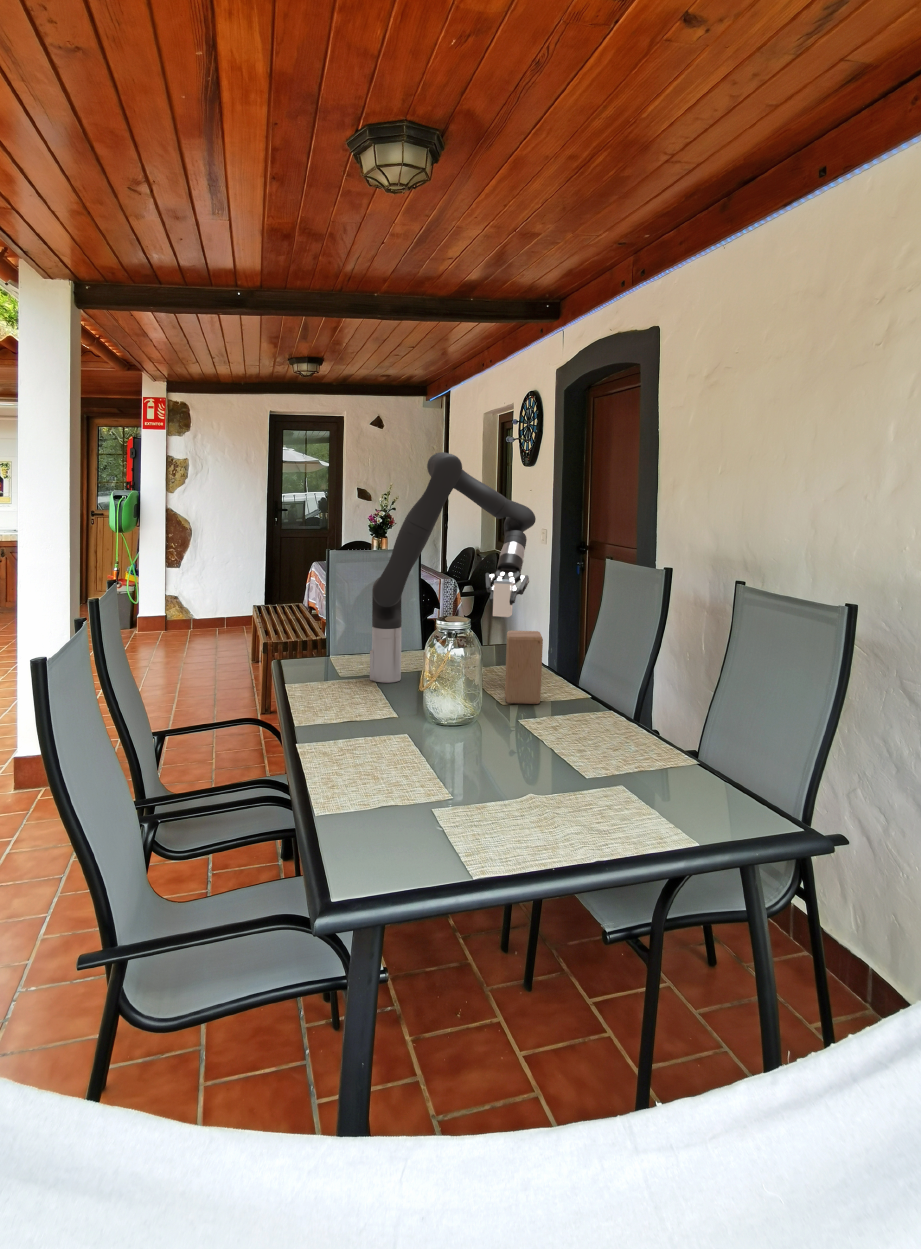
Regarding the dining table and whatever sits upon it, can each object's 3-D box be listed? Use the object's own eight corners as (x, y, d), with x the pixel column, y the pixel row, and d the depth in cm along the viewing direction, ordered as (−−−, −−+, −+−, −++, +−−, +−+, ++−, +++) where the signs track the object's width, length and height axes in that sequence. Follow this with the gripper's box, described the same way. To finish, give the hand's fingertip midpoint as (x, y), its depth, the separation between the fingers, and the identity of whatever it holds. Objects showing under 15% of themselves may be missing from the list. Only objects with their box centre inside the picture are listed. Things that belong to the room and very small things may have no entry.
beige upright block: (492, 616, 246) (494, 580, 245) (496, 613, 251) (497, 578, 249) (508, 617, 245) (510, 581, 243) (512, 614, 250) (513, 579, 248)
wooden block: (540, 705, 234) (543, 636, 231) (505, 704, 234) (508, 635, 231) (538, 696, 244) (540, 630, 241) (504, 695, 244) (506, 629, 241)
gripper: (487, 550, 254) (476, 593, 244) (532, 553, 250) (523, 596, 241) (490, 566, 260) (480, 608, 250) (534, 568, 256) (526, 611, 247)
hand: (501, 602), depth 246 cm, fingers closed on beige upright block, 5 cm apart
